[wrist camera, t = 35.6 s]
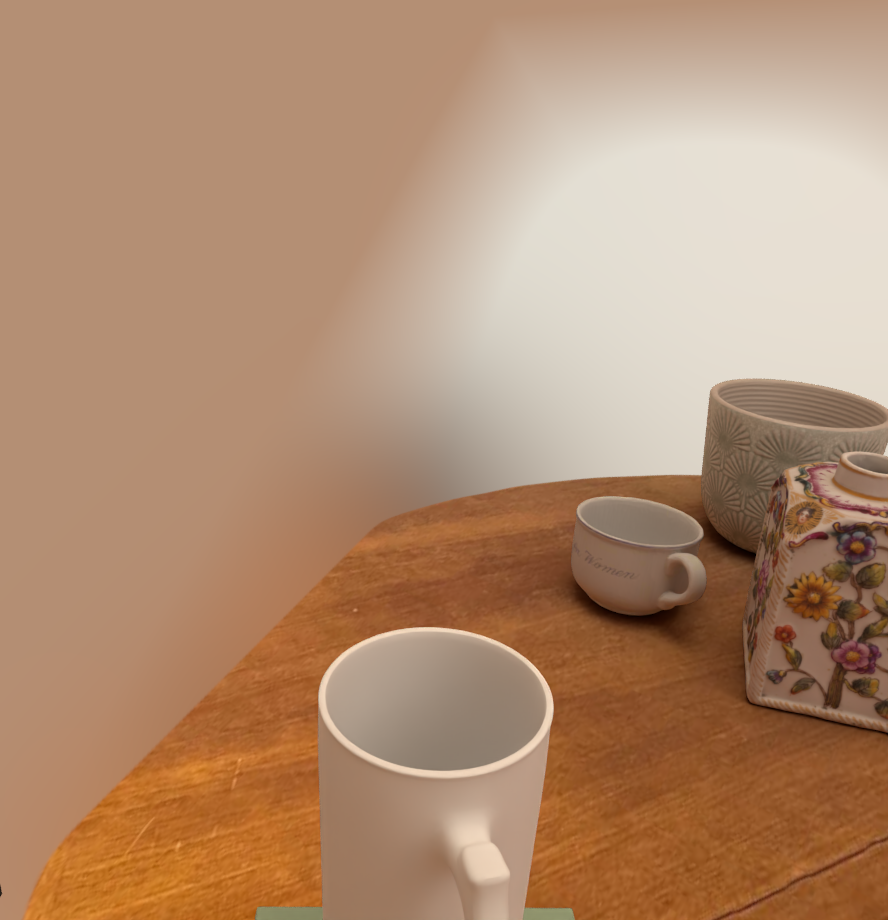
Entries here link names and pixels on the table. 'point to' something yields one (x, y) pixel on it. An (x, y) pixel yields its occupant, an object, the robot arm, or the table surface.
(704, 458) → the planter
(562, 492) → the table surface
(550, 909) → the warmer
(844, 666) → the decorative jar
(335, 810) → the mug
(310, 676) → the table surface
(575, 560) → the teacup
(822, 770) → the table surface
